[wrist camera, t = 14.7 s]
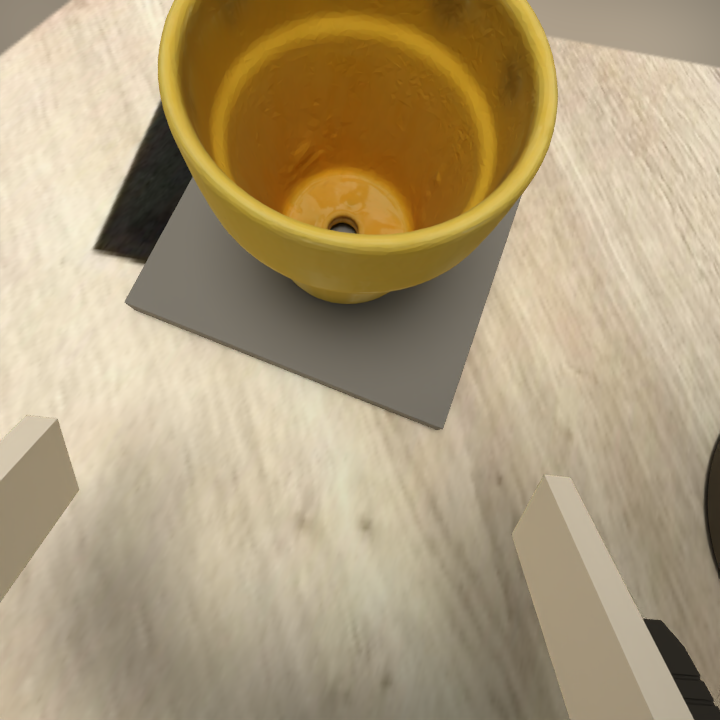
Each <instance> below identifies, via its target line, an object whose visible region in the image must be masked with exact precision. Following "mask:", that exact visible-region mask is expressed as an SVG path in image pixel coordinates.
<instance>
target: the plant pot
mask: <svg viewBox="0 0 720 720" xmlns="http://www.w3.org/2000/svg"><path fill="white" fill-rule="evenodd" d="M158 82H159V90H160V96H161V100H162V105H163V109H164V112H165V115H166V118H167V121H168V124H169V127H170V130H171V132H172V135H173V137H174V139H175V141H176V143H177V145H178V147H179V149H180V151H181V154H182V156H183V158H184V160H185V162H186V164H187V166H188V168H189V170H190V172H191V174H192V176H193V178H194V180H195V181H196V183H197V185H198V187H199V189H200V191H201V192H202V194H203V196H204V197H205V199H206V201H207V202H208V204H209V206H210V208H211V209H212V211H213V212H214V214H215V215H216V217H217V218H218V220H219V221H220V223H221V224H222V225H223V227H224V228H225V229H226V230H227V232H228V233H229V234H230V235H231V236H232V237H233V238H234V239H235V240H236V241H237V242H238V243H239V244H240V245H241V246H242V247H243V248H244V249H245V250H246V251H247V252H248V253H250V254H251V255H252V256H254V257H255V258H256V259H258V260H259V261H260V262H262V263H263V264H265V265H266V266H268V267H270V268H271V269H273V270H275V271H276V272H278V273H280V274H282V275H284V276H286V277H288V278H290V279H291V280H292V281H293V282H294V283H295V284H296V285H297V286H299V287H300V288H301V289H303V290H304V291H306V292H307V293H309V294H310V295H312V296H314V297H316V298H319V299H322V300H324V301H328V302H332V303H339V304H357V303H363V302H368V301H371V300H374V299H377V298H379V297H381V296H383V295H385V294H387V293H389V292H390V291H396V290H401V289H405V288H409V287H412V286H416V285H418V284H421V283H424V282H427V281H429V280H431V279H433V278H436V277H437V276H439V275H441V274H443V273H445V272H447V271H448V270H450V269H451V268H453V267H454V266H456V265H457V264H459V263H460V262H461V261H462V260H463V259H465V258H466V257H467V256H468V255H469V254H471V253H472V252H473V251H474V250H475V249H476V248H477V247H478V246H479V245H480V243H481V242H482V241H483V240H484V239H485V238H486V237H487V236H488V235H489V234H490V233H491V232H492V231H493V230H494V228H495V227H496V226H497V225H498V224H499V222H500V221H501V220H502V219H503V218H504V216H505V215H506V214H507V213H508V212H509V210H510V209H511V208H512V206H513V205H514V204H515V202H516V201H517V200H518V199H519V197H520V196H521V195H522V193H523V192H524V191H525V190H526V188H527V187H528V185H529V184H530V182H531V181H532V179H533V178H534V176H535V175H536V173H537V171H538V170H539V168H540V166H541V164H542V162H543V160H544V158H545V155H546V153H547V151H548V148H549V145H550V142H551V138H552V135H553V132H554V126H555V121H556V114H557V105H558V89H557V78H556V70H555V65H554V60H553V55H552V52H551V49H550V45H549V43H548V40H547V38H546V35H545V32H544V30H543V28H542V26H541V24H540V22H539V20H538V18H537V16H536V14H535V13H534V11H533V9H532V8H531V6H530V5H529V3H528V2H527V0H174V2H173V4H172V6H171V9H170V11H169V13H168V15H167V18H166V21H165V25H164V28H163V32H162V37H161V41H160V47H159V55H158ZM337 223H347V224H349V225H351V226H352V227H353V228H354V229H355V231H356V233H357V234H355V233H346V232H339V231H333V230H330V229H331V227H332V226H333V225H335V224H337Z"/></svg>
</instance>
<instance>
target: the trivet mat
mask: <svg viewBox="0 0 720 720" xmlns="http://www.w3.org/2000/svg"><path fill="white" fill-rule="evenodd" d="M521 196H522V195H521ZM521 196H520V197H519V199H518V200H517V201H516V202H515V204H514V205H513V206H512V208H511V209H510V210H509V212H508V213H507V214H506V215H505V216H504V218H503V219H502V220H501V221H500V222H499V224H498V225H497V226H496V227H495V228H494V230H493V231H492V232H491V233H490V234H489V235H488V236H487V237H486V238H485V239H484V240H483V241H482V242H481V243H480V245H479V246H478V247H477V248H476V249H475V250H474V251H473V252H472V253H471V254H469V255H468V256H467V257H466V258H465V259H463V260H462V261H461V262H460V263H459V264H457V265H456V266H454V267H453V268H451V269H450V270H448V271H447V272H445V273H443V274H441V275H439V276H437V277H436V278H433V279H431V280H429V281H427V282H424V283H421V284H418V285H416V286H412V287H409V288H405V289H401V290H396V291H390V292H389V293H387V294H385V295H383V296H381V297H379V298H377V299H374V300H371V301H368V302H363V303H357V304H339V303H332V302H328V301H324V300H322V299H319V298H316V297H314V296H312V295H310V294H309V293H307V292H306V291H304V290H303V289H301V288H300V287H299V286H297V285H296V284H295V283H294V282H293V281H292V280H291V279H290V278H288V277H286V276H284V275H282V274H280V273H278V272H276V271H275V270H273V269H271V268H270V267H268V266H266V265H265V264H263V263H262V262H260V261H259V260H258V259H256V258H255V257H254V256H252V255H251V254H250V253H248V252H247V251H246V250H245V249H244V248H243V247H242V246H241V245H240V244H239V243H238V242H237V241H236V240H235V239H234V238H233V237H232V236H231V235H230V234H229V233H228V232H227V230H226V229H225V228H224V227H223V225H222V224H221V223H220V221H219V220H218V218H217V217H216V215H215V214H214V212H213V211H212V209H211V208H210V206H209V204H208V202H207V201H206V199H205V197H204V196H203V194H202V192H201V191H200V189H199V187H198V185H197V183H196V181H195V180H194V178H192V179H191V181H190V183H189V185H188V187H187V189H186V190H185V192H184V194H183V196H182V198H181V200H180V201H179V203H178V205H177V207H176V209H175V211H174V212H173V214H172V216H171V218H170V220H169V222H168V223H167V225H166V227H165V229H164V231H163V233H162V234H161V236H160V238H159V240H158V242H157V243H156V245H155V247H154V249H153V251H152V253H151V254H150V256H149V258H148V260H147V262H146V264H145V265H144V267H143V269H142V271H141V273H140V275H139V276H138V278H137V280H136V282H135V284H134V286H133V287H132V289H131V291H130V293H129V295H128V297H127V298H126V300H125V303H126V304H128V305H129V306H130V307H132V308H133V309H134V310H137V311H139V312H142V313H144V314H147V315H149V316H152V317H154V318H157V319H159V320H162V321H164V322H167V323H170V324H172V325H175V326H177V327H180V328H182V329H185V330H187V331H190V332H192V333H195V334H197V335H200V336H202V337H205V338H207V339H210V340H212V341H215V342H217V343H220V344H222V345H225V346H227V347H230V348H232V349H235V350H237V351H240V352H242V353H245V354H247V355H250V356H252V357H255V358H257V359H260V360H262V361H265V362H268V363H270V364H273V365H275V366H278V367H280V368H283V369H285V370H288V371H290V372H293V373H295V374H298V375H300V376H303V377H305V378H308V379H310V380H313V381H315V382H318V383H320V384H323V385H325V386H328V387H330V388H333V389H335V390H338V391H340V392H343V393H345V394H348V395H350V396H353V397H355V398H358V399H361V400H363V401H366V402H368V403H371V404H373V405H376V406H378V407H381V408H383V409H386V410H388V411H391V412H393V413H396V414H398V415H401V416H403V417H406V418H408V419H411V420H413V421H416V422H418V423H421V424H423V425H426V426H428V427H431V428H433V429H436V430H439V429H443V427H444V424H445V421H446V418H447V415H448V412H449V409H450V407H451V404H452V401H453V398H454V395H455V392H456V389H457V386H458V383H459V380H460V377H461V374H462V371H463V368H464V365H465V362H466V359H467V356H468V353H469V350H470V347H471V344H472V341H473V338H474V335H475V332H476V329H477V326H478V323H479V320H480V317H481V314H482V311H483V308H484V306H485V303H486V300H487V297H488V294H489V291H490V288H491V285H492V282H493V279H494V276H495V273H496V270H497V267H498V264H499V261H500V258H501V255H502V252H503V249H504V246H505V243H506V240H507V237H508V234H509V231H510V228H511V225H512V222H513V219H514V216H515V213H516V210H517V207H518V204H519V202H520V199H521ZM330 230H333V231H339V232H346V233H355V234H357V233H356V231H355V229H354V228H353V227H352V226H351V225H349V224H347V223H337V224H335V225H333V226H332V227H331V229H330Z"/></svg>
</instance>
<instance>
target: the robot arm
mask: <svg viewBox="0 0 720 720" xmlns="http://www.w3.org/2000/svg"><path fill="white" fill-rule="evenodd" d="M78 491H79V487H78V484H77V481H76V477H75V474H74V471H73V468H72V464H71V461H70V458H69V455H68V451H67V448H66V445H65V442H64V438H63V435H62V432H61V429H60V425H59V422H58V419H57V418H49V417H40V416H31V415H26V416H25V417H24V418H23V419H22V420H21V421H20V422H19V423H18V424H17V425H16V426H15V427H14V428H13V429H12V430H11V431H10V432H9V433H8V434H7V435H6V436H5V437H4V438H3V439H2V440H1V441H0V602H1V601H2V599H3V598H4V596H5V595H6V593H7V592H8V591H9V589H10V588H11V586H12V585H13V583H14V582H15V581H16V579H17V578H18V576H19V575H20V573H21V572H22V571H23V569H24V568H25V566H26V565H27V563H28V562H29V561H30V559H31V558H32V556H33V555H34V553H35V552H36V551H37V549H38V548H39V546H40V545H41V543H42V542H43V541H44V539H45V538H46V536H47V535H48V533H49V532H50V531H51V529H52V528H53V526H54V525H55V523H56V522H57V521H58V519H59V518H60V516H61V515H62V514H63V512H64V511H65V509H66V508H67V506H68V505H69V504H70V502H71V501H72V499H73V498H74V496H75V495H76V494H77V492H78ZM708 520H709V527H710V534H711V540H712V545H713V549H714V553H715V557H716V560H717V563H718V566H719V569H720V441H719V443H718V446H717V448H716V451H715V455H714V458H713V462H712V466H711V471H710V477H709V486H708ZM512 538H513V541H514V544H515V548H516V551H517V554H518V557H519V560H520V563H521V566H522V570H523V573H524V576H525V579H526V582H527V585H528V589H529V592H530V595H531V598H532V601H533V604H534V608H535V611H536V614H537V617H538V620H539V623H540V626H541V630H542V633H543V636H544V639H545V642H546V645H547V649H548V652H549V655H550V658H551V661H552V664H553V668H554V671H555V674H556V677H557V680H558V683H559V687H560V690H561V693H562V696H563V699H564V702H565V705H566V709H567V712H568V715H569V718H570V720H720V710H719V708H718V707H717V706H715V705H714V703H713V701H714V700H713V698H712V696H711V694H710V692H709V691H708V689H707V687H706V685H705V683H704V682H703V681H701V680H700V674H699V673H698V671H697V669H696V667H695V665H694V664H693V662H692V660H691V658H690V656H689V655H688V653H687V651H686V649H685V648H684V646H683V645H682V644H681V643H680V641H679V640H678V639H677V638H676V637H675V636H674V635H673V633H672V632H671V631H670V630H669V629H668V628H667V627H666V625H665V624H664V623H663V622H662V621H661V620H650V619H642V617H641V615H640V613H639V611H638V609H637V607H636V605H635V603H634V601H633V599H632V597H631V595H630V593H629V591H628V589H627V587H626V585H625V583H624V581H623V579H622V577H621V575H620V573H619V572H618V570H617V568H616V566H615V564H614V562H613V560H612V558H611V556H610V554H609V552H608V550H607V548H606V546H605V544H604V542H603V540H602V538H601V536H600V534H599V532H598V530H597V528H596V526H595V524H594V523H593V521H592V519H591V517H590V515H589V513H588V511H587V509H586V507H585V505H584V503H583V501H582V499H581V497H580V495H579V493H578V491H577V489H576V487H575V485H574V483H573V481H572V479H571V477H564V476H555V475H546V474H544V475H543V477H542V479H541V481H540V483H539V485H538V487H537V488H536V490H535V492H534V494H533V496H532V498H531V499H530V501H529V503H528V505H527V507H526V509H525V511H524V512H523V514H522V516H521V518H520V520H519V522H518V524H517V525H516V527H515V529H514V531H513V533H512Z"/></svg>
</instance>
